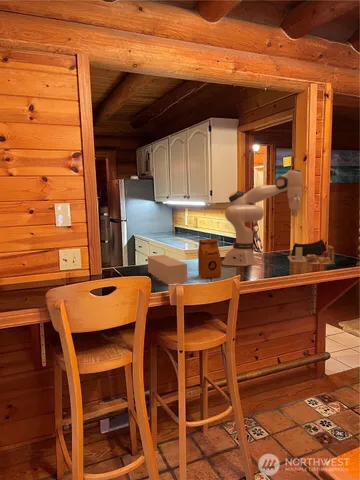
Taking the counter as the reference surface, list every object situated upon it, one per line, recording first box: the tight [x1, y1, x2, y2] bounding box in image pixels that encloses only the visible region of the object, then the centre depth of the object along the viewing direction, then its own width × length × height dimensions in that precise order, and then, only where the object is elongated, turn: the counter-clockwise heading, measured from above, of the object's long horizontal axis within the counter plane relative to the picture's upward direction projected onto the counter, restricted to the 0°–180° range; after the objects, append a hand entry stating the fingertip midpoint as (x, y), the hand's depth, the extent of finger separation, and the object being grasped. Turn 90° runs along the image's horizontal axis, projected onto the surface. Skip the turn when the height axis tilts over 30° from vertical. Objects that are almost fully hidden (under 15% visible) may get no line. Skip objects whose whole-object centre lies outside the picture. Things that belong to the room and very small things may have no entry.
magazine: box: [290, 239, 328, 257], centre depth 240 cm, size 17×3×30 cm
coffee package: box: [197, 238, 222, 279], centre depth 186 cm, size 10×12×22 cm
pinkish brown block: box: [147, 254, 188, 285], centre depth 187 cm, size 32×11×11 cm, turn 25°
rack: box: [307, 245, 335, 265], centre depth 212 cm, size 16×11×11 cm
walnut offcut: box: [305, 256, 318, 264], centre depth 213 cm, size 6×5×3 cm
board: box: [294, 247, 303, 260], centre depth 220 cm, size 4×2×9 cm, turn 80°
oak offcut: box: [306, 255, 318, 259], centre depth 213 cm, size 5×4×2 cm
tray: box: [287, 255, 307, 263], centre depth 221 cm, size 10×14×2 cm
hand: (294, 216), depth 213 cm, fingers open, 8 cm apart
